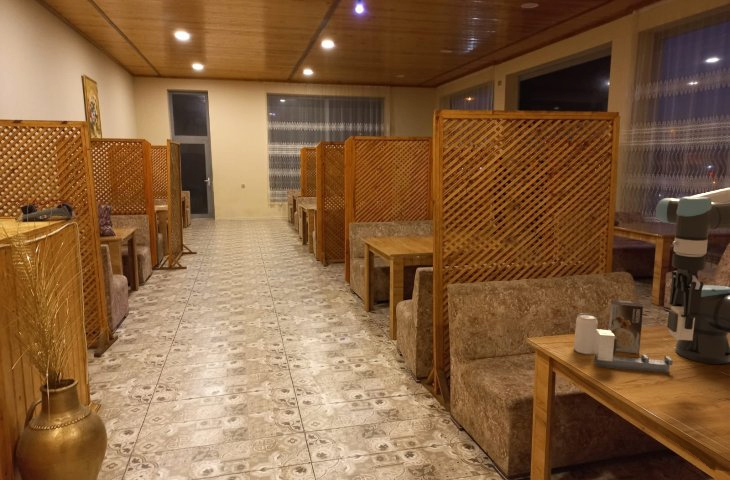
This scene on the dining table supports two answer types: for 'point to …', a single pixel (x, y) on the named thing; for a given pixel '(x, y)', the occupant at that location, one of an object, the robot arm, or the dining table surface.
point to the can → (585, 333)
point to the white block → (676, 321)
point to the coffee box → (626, 324)
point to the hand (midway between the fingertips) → (681, 335)
